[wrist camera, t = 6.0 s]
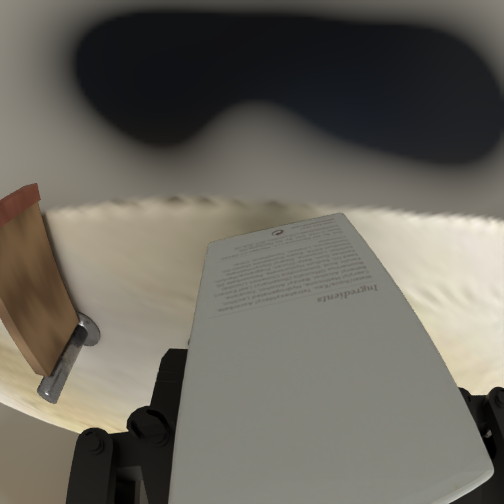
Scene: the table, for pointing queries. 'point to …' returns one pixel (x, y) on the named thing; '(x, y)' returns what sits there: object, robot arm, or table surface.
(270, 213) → the table surface
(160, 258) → the table surface
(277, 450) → the small box
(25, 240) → the gate
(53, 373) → the pivot post
